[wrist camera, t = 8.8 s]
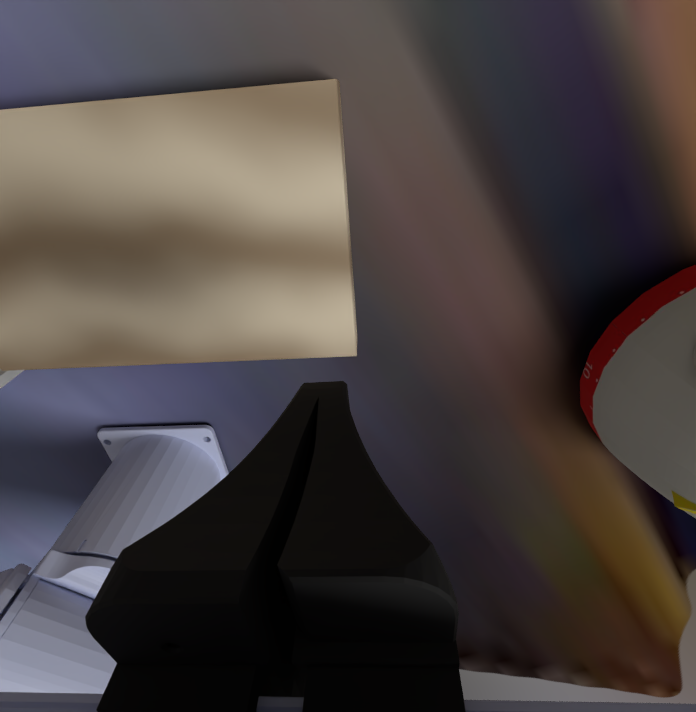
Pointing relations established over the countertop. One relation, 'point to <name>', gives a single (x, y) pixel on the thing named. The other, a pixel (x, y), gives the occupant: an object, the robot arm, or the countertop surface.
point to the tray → (8, 376)
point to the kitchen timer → (649, 388)
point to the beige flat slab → (176, 229)
